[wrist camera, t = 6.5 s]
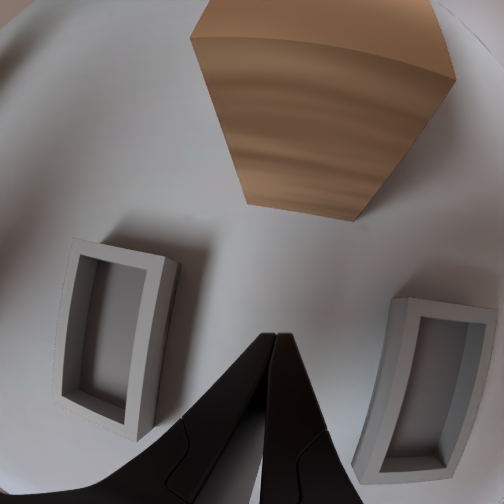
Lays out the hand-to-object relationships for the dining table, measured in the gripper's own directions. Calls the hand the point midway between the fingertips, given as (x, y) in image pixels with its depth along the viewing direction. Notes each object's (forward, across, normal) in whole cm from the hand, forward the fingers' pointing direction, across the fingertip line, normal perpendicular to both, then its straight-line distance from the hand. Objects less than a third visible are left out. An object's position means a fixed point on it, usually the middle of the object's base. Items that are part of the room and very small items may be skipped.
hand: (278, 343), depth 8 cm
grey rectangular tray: (+5, +10, +5) cm, 12 cm away
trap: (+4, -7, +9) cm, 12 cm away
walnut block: (+15, -1, -5) cm, 16 cm away
